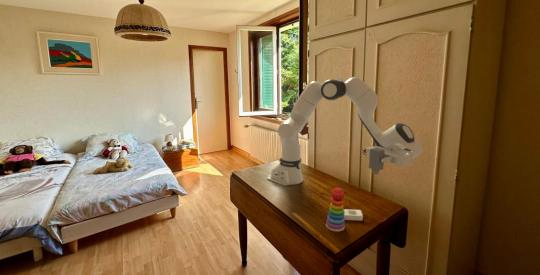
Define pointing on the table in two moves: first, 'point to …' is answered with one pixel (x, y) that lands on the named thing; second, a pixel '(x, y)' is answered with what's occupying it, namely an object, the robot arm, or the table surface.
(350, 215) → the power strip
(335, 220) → the stacking toy
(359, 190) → the table surface
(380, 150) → the gray rectangular block
